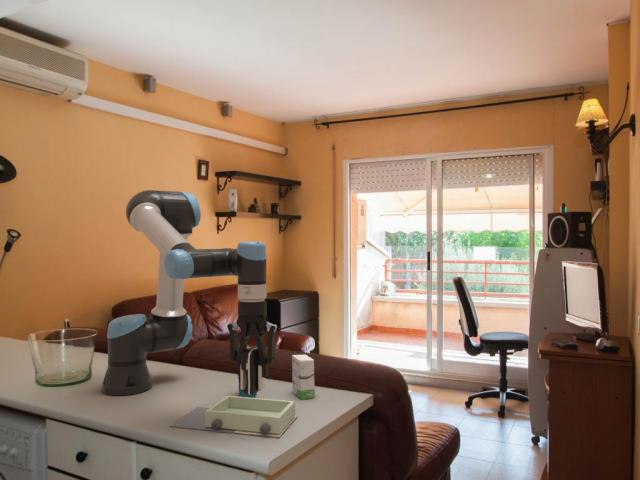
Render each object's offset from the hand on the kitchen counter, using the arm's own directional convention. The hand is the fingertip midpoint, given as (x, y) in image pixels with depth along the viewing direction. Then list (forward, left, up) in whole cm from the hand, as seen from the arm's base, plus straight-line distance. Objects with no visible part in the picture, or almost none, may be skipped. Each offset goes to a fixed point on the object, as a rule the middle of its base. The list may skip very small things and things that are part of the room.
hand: (252, 388), depth 134 cm
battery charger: (0, 0, -1) cm, 1 cm away
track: (-5, 0, -9) cm, 11 cm away
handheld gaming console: (-10, +21, -9) cm, 25 cm away
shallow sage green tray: (0, 0, -9) cm, 9 cm away
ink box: (+6, +27, -9) cm, 29 cm away
